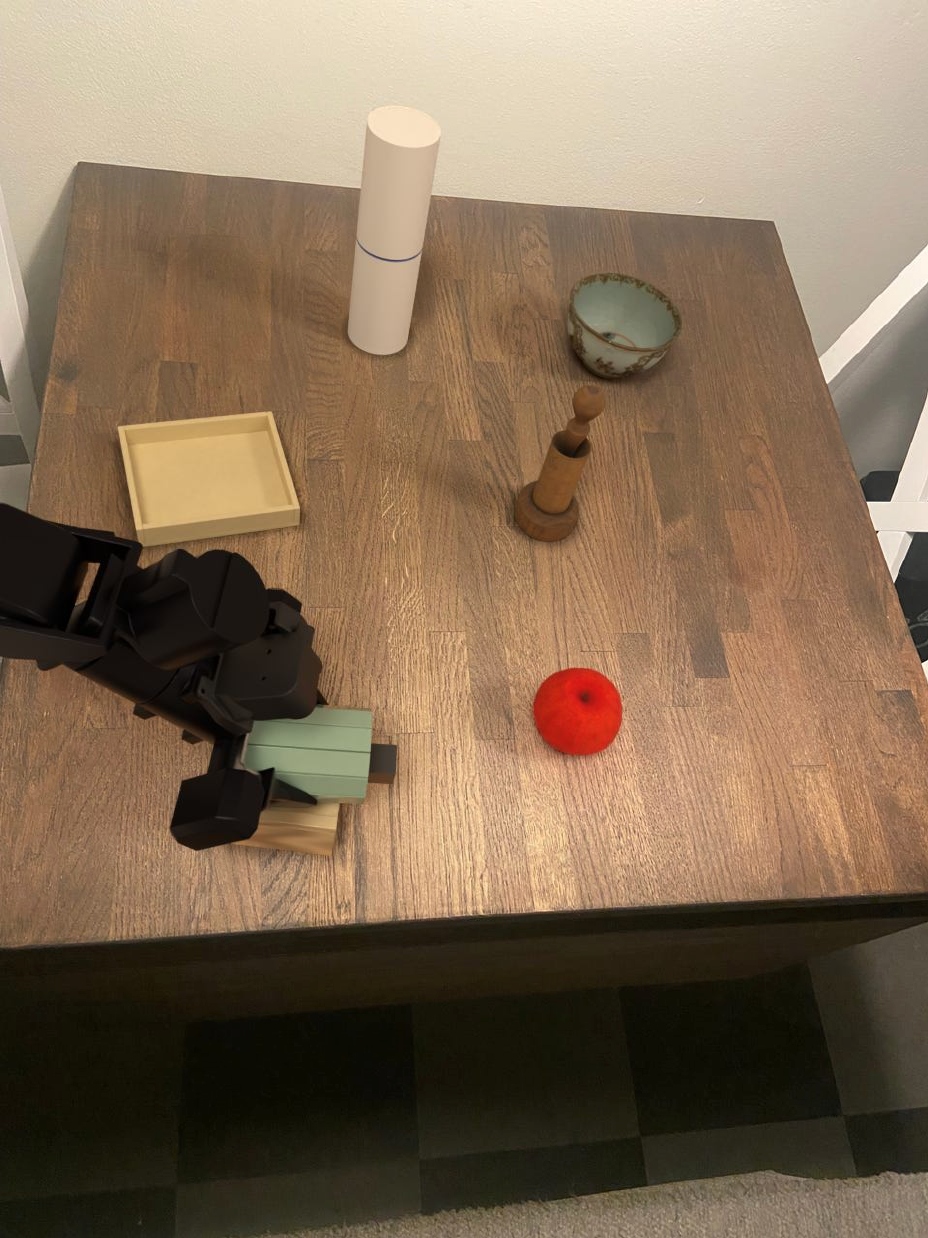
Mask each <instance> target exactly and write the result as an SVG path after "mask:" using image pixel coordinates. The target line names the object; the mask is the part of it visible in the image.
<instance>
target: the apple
mask: <svg viewBox="0 0 928 1238" xmlns="http://www.w3.org/2000/svg"><path fill="white" fill-rule="evenodd" d="M532 706H533V707H532V713H533V718H534V721H535V725H536V729H537V732H539V734H540V735H541V737H542V738H543V740H544V741H545V742H546V743H547V744H548V745H549V746H551V748H554V749H556V750H557V751H558V752H560V753H563V754H568V755H572V756H590V755H594V754H598V753H601V752H602V751H604V750H606V749H607V748H608V747H609V746H610V745H611V744H613V742H614V741H615V739H616V737H617V735H618V733H619V731H620V729H621V725H622V722H623V709H624V708H623V704H622V699H621V694H620V692H619V691H618V689H617V687H616V685H615V684H614V683H613V682H612V681H611V680H610V679H609V678H608V677H607V676H606V675H604V674H603V673H601V672H599V671H597V670H595V669H593V668H589V667H569V668H565V669H562V670H558V671H555V672H553V673H552V674H550V675H549V676H548V677H546V679H545V680H543V681H542V682H541V684H540V685H539V688H538V690H537V692H536V693H535V696H534V699H533V703H532Z"/></svg>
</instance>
